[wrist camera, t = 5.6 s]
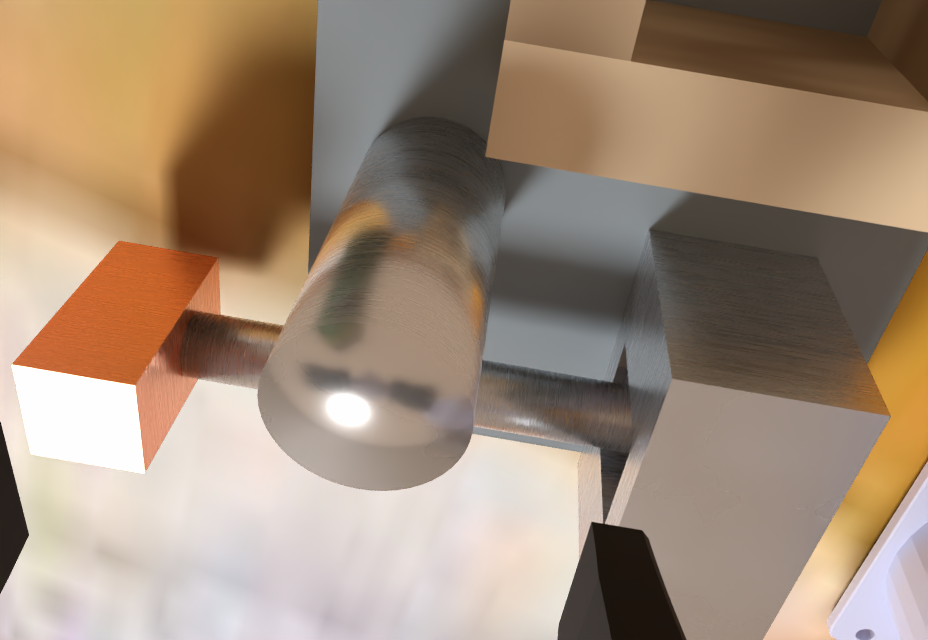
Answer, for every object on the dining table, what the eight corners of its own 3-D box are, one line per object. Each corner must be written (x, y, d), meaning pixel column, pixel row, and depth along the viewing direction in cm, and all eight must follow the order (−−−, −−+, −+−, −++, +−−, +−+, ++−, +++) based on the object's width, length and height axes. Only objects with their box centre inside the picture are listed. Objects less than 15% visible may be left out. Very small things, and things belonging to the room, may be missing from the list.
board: (1242, -431, 12) (1292, -442, 11) (791, 461, 22) (800, 489, 21) (355, -581, 12) (340, -603, 11) (312, 379, 22) (303, 404, 21)
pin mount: (817, 257, 18) (890, 416, 14) (715, 487, 21) (749, 662, 17) (649, 228, 18) (672, 378, 14) (577, 463, 21) (580, 633, 17)
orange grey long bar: (690, 338, 19) (718, 485, 15) (662, 413, 20) (683, 566, 16) (119, 241, 19) (11, 364, 15) (128, 321, 20) (30, 453, 16)
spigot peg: (517, 131, 17) (489, 345, 11) (493, 261, 18) (458, 505, 13) (365, 105, 17) (256, 305, 11) (356, 238, 18) (258, 471, 13)
